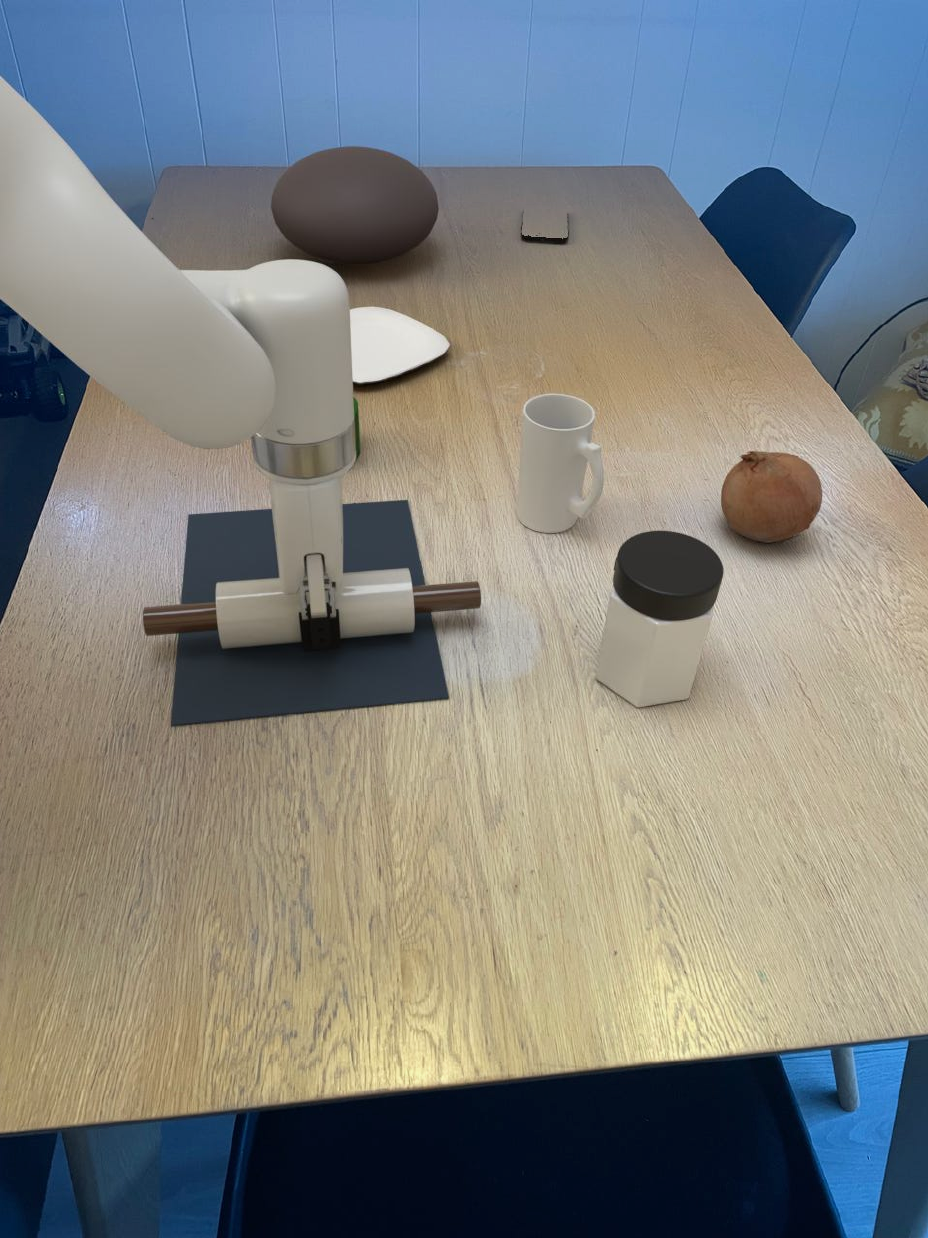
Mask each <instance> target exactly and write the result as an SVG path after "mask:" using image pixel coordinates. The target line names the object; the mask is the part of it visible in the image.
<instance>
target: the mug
mask: <svg viewBox="0 0 928 1238" xmlns="http://www.w3.org/2000/svg"><path fill="white" fill-rule="evenodd" d="M522 408H523V409H522V421H521V422H522V423H521V432H520V433H521V434H520V450H519V462H518V463H519V465H518V478H517V498H516V499H517V500H516V516H517V519H518V520H519V521H520V523H521V524H522V525H524V526H525V527H526V528H528V529H529V530H533V531H535V532H539V533H544V534H556V533H557V534H558V533H561V532H562V533H563V532H565V531H567V530H569V529H571V528H572V527H573V526H574V525H575V524H576V522H577V520H578V518H580V519H585V518H587V517H589V516H590V515H591V513H592V512H593V510H594V508H595V507H596V505H597V504H598V502H599V500H600V498H601V497H602V493H603V490H604V484H605V483H604V482H605V481H604V480H605V476H604V475H605V473H604V472H605V471H604V464H603V458H602V446H601V445H599V444H597V443H595V442H592V439H593V432H594V424H595V418H596V411H595V409H594V408H593V406H591V405H590V404H589V403H588V402H587V401H585V400H583V399H582V398H579V397H576V396H574V395H569V394H563V393H545V394H544V393H543V394H540V395H536V396H533V397H532V398H529V399H528V400H527V401H526V402H524V405H523V407H522ZM588 465H589V467H590V471H591V475H592V483H591V488H590V491H589V493H588V495H587V497H586V499H585V500H584V499H582V495H583V491H584V484H585V477H586V471H587V466H588Z"/></svg>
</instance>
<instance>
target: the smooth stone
mask: <svg viewBox="0 0 928 1238" xmlns="http://www.w3.org/2000/svg"><path fill="white" fill-rule="evenodd" d="M270 209H271V213H272V217H273V221H274V223H275V225H276V227H277V228H278V230H279V231H280V234H282V235H283V237H284V238H285V239H287V241H288V242H290V243H291V244H292V245H293V246H294V247H296V248H297V249H299V250H300V251H302V252H304V253H305V254H307V255H309V256H311V257H314V258H317V259H319V260H322V261H327V262H331V263H333V264H340V265H348V266H362V265H363V266H364V265H365V266H366V265H373V264H379V263H385V262H387V261H391V260H394V259H397V258H399V257H402V256H404V255H406V254H407V253H409V252H411V251H412V250H414V249H415V248H417V247H419V245H421V243H423V241H425V240H426V239H427V238H428V237H429V235H430V234H431V232H432V230H433V229H434V227H435V225H436V222H437V220H438V215H439V210H440V209H439V201H438V194H437V191H436V189H435V187H434V185H433V182H431V180H430V179H429V178H428V176H427V175H426V174H425V173H424V172H423V170H421V169H420V168H419V167H418V166H416V165H415V164H413V163H412V162H410V161H409V160H408V159H406V158H405V157H401V156H400V155H397V154H395V153H392V152H391V151H387V150H383V149H380V148H379V149H378V148H373V147H368V146H359V145H358V146H357V145H355V146H354V145H352V146H351V145H350V146H348V145H347V146H338V147H333V148H327V149H323V150H319V151H317V152H313V153H311V154H309V155H307V156H305V157H303V158H301V159H299V160H297V161H296V162H295V163H293V164H292V165H291V166H289V167H288V168H287V169H286V170H285V171H284V172H283V174H282V175H281V176H280V178H278V180H277V181H276V183H275V186H274V188H273V191H272V195H271V203H270Z"/></svg>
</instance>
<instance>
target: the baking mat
mask: <svg viewBox="0 0 928 1238" xmlns="http://www.w3.org/2000/svg"><path fill="white" fill-rule="evenodd" d="M342 507H343V573H347V572H360V571H373V570H386V569H399V568H408V569H409V571H410V576H411V581H412V586H420V585H426V581H425V576H424V572H423V565H422V563H421V557H420V552H419V547H418V542H417V538H416V534H415V529H414V523H413V519H412V514H411V510H410V504H409V500H408V499H399V500H384V501H369V502H367V501H366V502H352V503H342ZM187 518H188V519H187V529H186V538H185V539H186V540H185V541H186V542H185V552H184V564H183V575H182V586H181V597H180V604H192V603H204V602H216V584H217V582H227V581H241V580H254V579H267V578H279V569H278V559H277V550H276V542H275V533H274V524H273V515H272V508H265V509H248V510H247V509H246V510H233V511H217V512H203V513H190V514H188V516H187ZM434 623H435V622H434V619H433V613H432V612H431V613H419V614H415V626H414V632H413V633H403V634H391V635H380V636H368V637H356V638H345V639H341V647H340V648H339V649H333V650H322V651H311V652H305V651H303V649H302V642H299V643H287V644H276V645H264V646H252V647H241V648H229V649H223V648H222V646H221V643H220V638H219V632H218V630H215V631H203V632H191V633H179V634H177V645H176V658H175V669H174V670H175V671H174V682H173V693H172V703H171V704H172V706H171V715H170V717H171V718H170V727H178V726H189V725H199V724H207V723H220V722H228V721H238V720H248V719H249V720H250V719H258V718H259V719H260V718H268V717H280V716H289V715H299V714H310V713H318V712H319V713H321V712H330V711H331V712H332V711H340V710H352V709H359V708H370V707H381V706H391V705H401V704H411V703H421V702H432V701H440V700H441V701H443V700H449V699H450V694H449V691H448V686H447V685H448V684H447V681H446V675H445V672H444V671H445V670H444V667H443V662H442V661H443V660H442V657H441V652H440V648H439V642H438V638H437V633H436V629H435V624H434Z"/></svg>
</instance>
